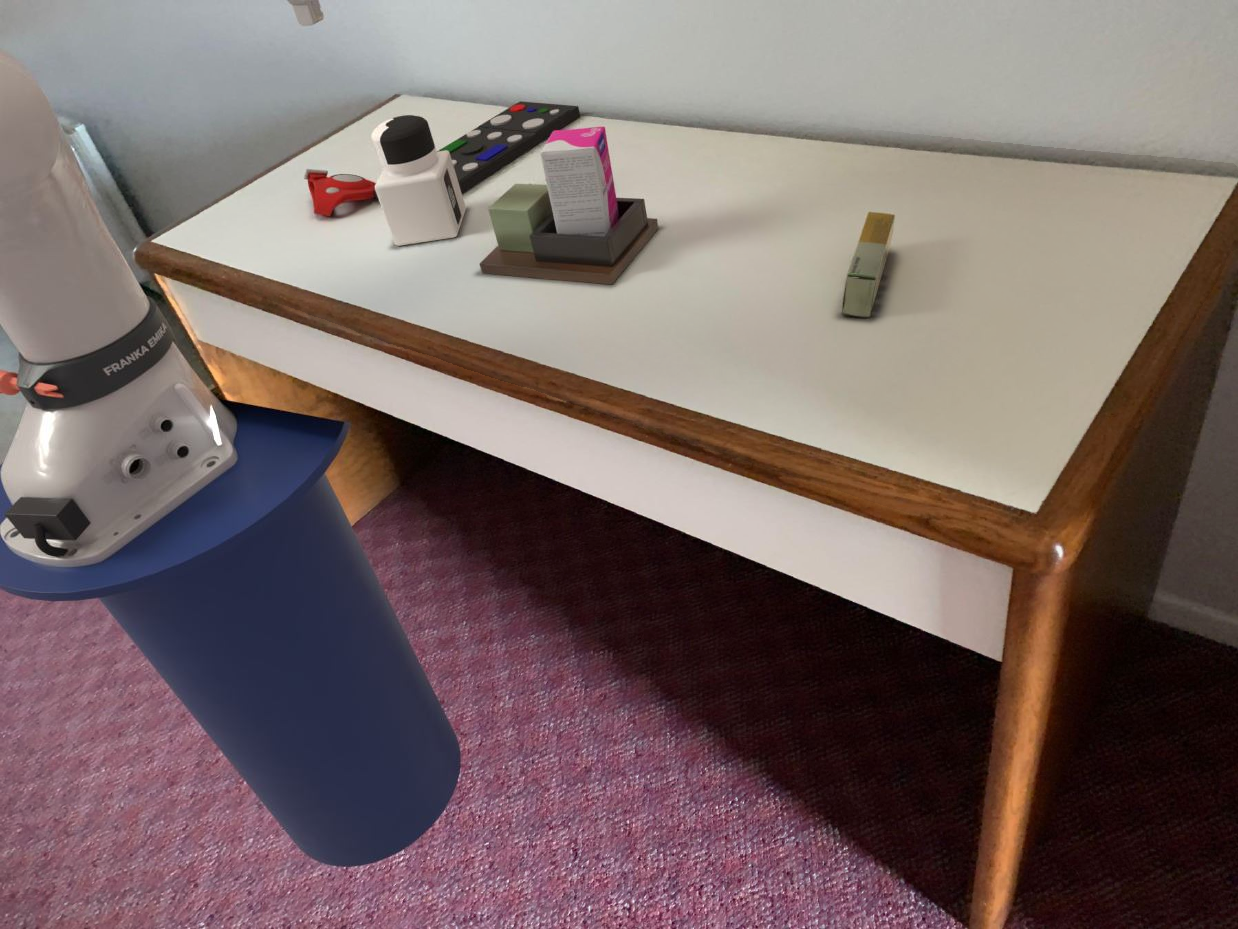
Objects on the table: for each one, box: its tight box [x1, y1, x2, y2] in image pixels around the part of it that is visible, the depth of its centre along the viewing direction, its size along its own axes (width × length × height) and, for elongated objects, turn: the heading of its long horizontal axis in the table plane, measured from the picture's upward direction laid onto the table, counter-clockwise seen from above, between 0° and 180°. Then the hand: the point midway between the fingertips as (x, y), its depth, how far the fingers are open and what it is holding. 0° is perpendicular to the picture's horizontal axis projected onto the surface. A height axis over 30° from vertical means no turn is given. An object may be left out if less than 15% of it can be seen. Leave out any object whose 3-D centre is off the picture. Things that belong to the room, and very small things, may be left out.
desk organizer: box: [479, 183, 659, 285], centre depth 100 cm, size 12×16×6 cm
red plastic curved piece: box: [303, 168, 377, 217], centre depth 123 cm, size 12×4×10 cm
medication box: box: [841, 211, 896, 319], centre depth 85 cm, size 12×3×4 cm, turn 160°
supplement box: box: [539, 126, 620, 237], centre depth 96 cm, size 6×6×12 cm
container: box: [370, 114, 467, 247], centre depth 108 cm, size 8×8×13 cm
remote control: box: [373, 100, 581, 202], centre depth 127 cm, size 11×30×2 cm, turn 144°
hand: (345, 6), depth 84 cm, fingers open, 8 cm apart
